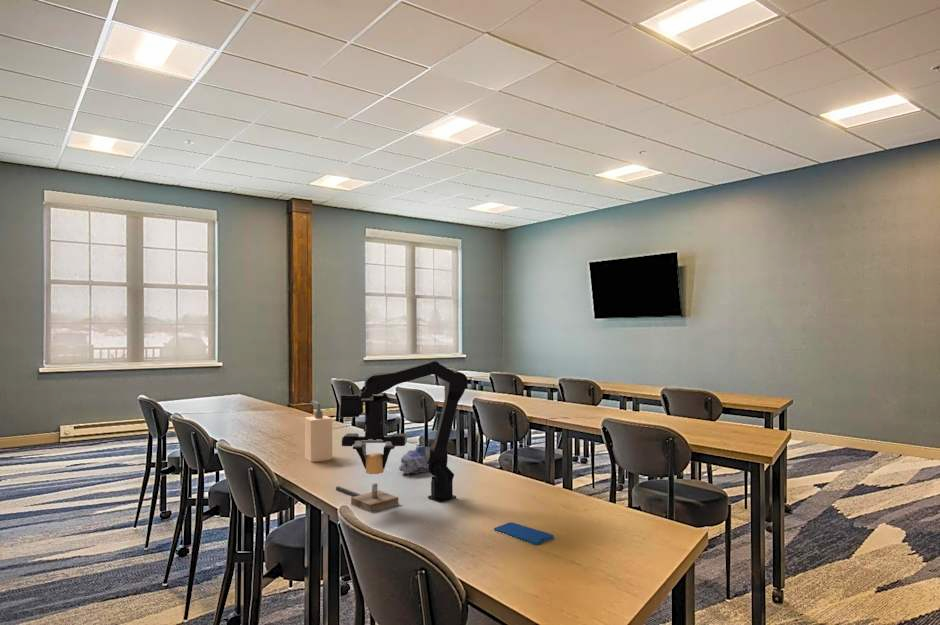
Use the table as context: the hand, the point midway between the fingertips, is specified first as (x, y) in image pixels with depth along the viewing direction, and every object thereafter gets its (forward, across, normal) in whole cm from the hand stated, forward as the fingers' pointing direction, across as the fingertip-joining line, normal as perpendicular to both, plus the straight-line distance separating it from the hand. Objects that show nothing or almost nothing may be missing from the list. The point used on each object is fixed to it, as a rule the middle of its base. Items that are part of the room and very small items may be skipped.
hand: (374, 468), depth 173 cm
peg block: (+11, 0, 0) cm, 11 cm away
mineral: (+11, -8, -38) cm, 40 cm away
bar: (+11, +9, -9) cm, 17 cm away
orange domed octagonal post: (+1, 0, 0) cm, 1 cm away
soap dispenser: (+11, +34, -59) cm, 69 cm away
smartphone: (+11, -42, +24) cm, 50 cm away
